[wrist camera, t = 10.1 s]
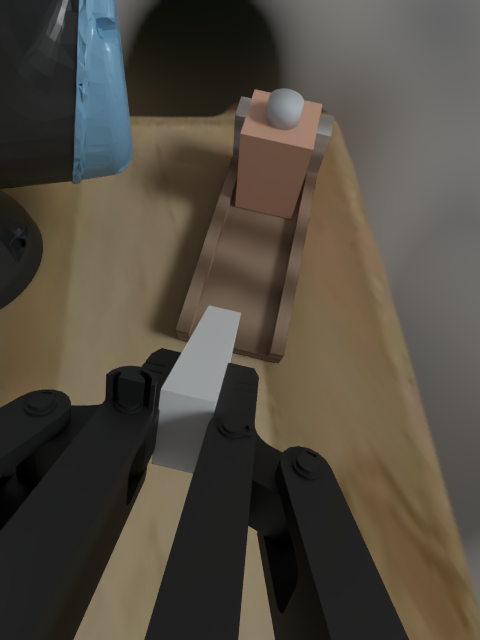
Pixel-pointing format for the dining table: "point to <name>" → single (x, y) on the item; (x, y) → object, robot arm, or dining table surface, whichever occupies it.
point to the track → (253, 259)
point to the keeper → (275, 151)
